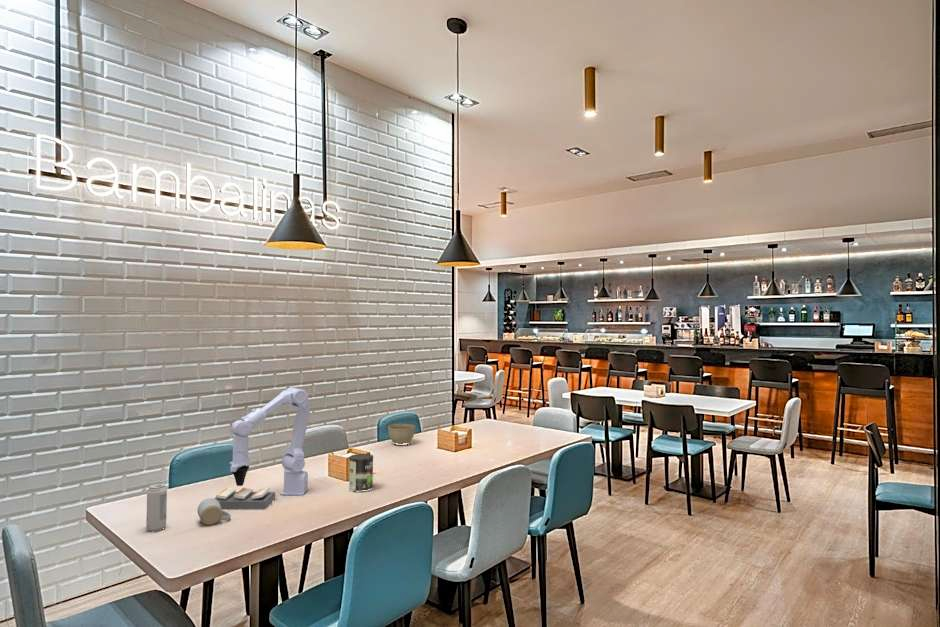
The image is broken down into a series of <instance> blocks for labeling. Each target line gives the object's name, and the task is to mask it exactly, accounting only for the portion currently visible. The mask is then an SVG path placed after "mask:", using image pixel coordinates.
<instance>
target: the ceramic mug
mask: <svg viewBox="0 0 940 627" xmlns="http://www.w3.org/2000/svg"><path fill="white" fill-rule="evenodd" d="M197 515H198V517H199V520H200V521H201V523H203V524H204V525H206V526H212V525H215V524H218V522H219V521H220V520H221V521H227V522H228V521H229V520H230V519H231V517H232V516H231V515H232V514H230V513H229V512H227V511H225V510H224V509H221V506H220V503H219V502H218V501H217V500H216V499H214V498H213V497H210V498H209V497H208V498H205V499H203V500H202V501H201V502H200V503H199V504H198V506H197Z"/></svg>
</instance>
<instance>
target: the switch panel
mask: <svg viewBox="0 0 940 627" xmlns="http://www.w3.org/2000/svg"><path fill="white" fill-rule="evenodd" d="M237 492H238V491H235V493H233V494H232V495H231V496H229V497H228V498H227V499H220V498H218V497H216V496H215V497H214V498H213V499H216V500H217V501H218V502H219V503H220V506H221V509H222V510H266V509H267V508H268V507H269V506H270V505H271V504H272V503H273V502H274V501H275V500H276V491H269V492H267V493H266V494H265V495H264V496H263V497H260V498H258V499H257V498H256V499H252V496H253V495H254V494H255V493H257V492H258V491H253V492H252V493H251V494H250V495H249V496H247V497H246V498H245V499H241V498H240V499H238V498H236V497H234V495H235V494H236V493H237ZM274 499H275V500H274ZM273 500H274V501H273ZM272 501H273V502H272ZM266 507H267V508H266ZM265 508H266V509H265Z"/></svg>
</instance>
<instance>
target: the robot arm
mask: <svg viewBox="0 0 940 627" xmlns="http://www.w3.org/2000/svg"><path fill="white" fill-rule="evenodd" d="M309 397H310V395H309V393H307V392H306V390H305V389H301V388H296V387H293V386H292V387H288V388H286V389H285V390H282V391H281V392H280V393H279V394H278V395H277V396H276V397H274V398H273V399H272V400H270V401H269V402H268V403H267V404H265V405H264V406H263V407H261V408H259V407H257V408H253V409H251V410H250V411H251V412H249V413H248V414H246V415H245V416H242V417H241V418H240V419H238V420H236V421H234V422H233V423H232V424H231V427H230V431H231V433H232V435H233V436H232V461H230V462H229V465H231V466H230V468H229V469H230V473H232V475H233V476H234V479H235V484H236V487H242V486H244V483H245V479H246V475H247V473H248V470H249V469H250V466H249V463H250V462H251V458H250V457H249V438H250V437H249V436H250V434H251V432H252V430H253V429H254V428H255V427H257V426H258V425H260V424H261V423H262V422H263V421H265V420H267V419H266V418H267V415H269V414H270V413H272V412H273V411H275V410H277V409H278V408H280V407H282V406H283V405H292V406H293V408H294V409H295V418H294V422H293V428H292V432H291V438H290V441H289V442H290V443H289V447H288V448H287V449H286V450H285V453H284V456H283V457H282V459H281V466H282V467H283V468H284V469H283V491H282V492H281V493H280V496H303V495H305V494H306V492H307V491H308V490H309V488H308V486H309V485H308V484H309V480H308V479H309V478H308V477H309V473H308V471H306V470H304V468H305V465H306V462H305V453H304V450H303V447H304V443H305V436H306V433H307V427H308V423H309V422H308V421H309V418H310V412H311V404H310V401H309V400H310V399H309Z"/></svg>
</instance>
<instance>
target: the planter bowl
mask: <svg viewBox="0 0 940 627" xmlns="http://www.w3.org/2000/svg"><path fill="white" fill-rule="evenodd" d="M387 431H388V436H389V438H390V440H391V442H392V443H393V442H394V443H398V444H403V443H409V442H410V443H411V441H412V440H413V439H414V435H415V431H416V425H414V424H411V423H393V424H389V425H388V426H387Z"/></svg>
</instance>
